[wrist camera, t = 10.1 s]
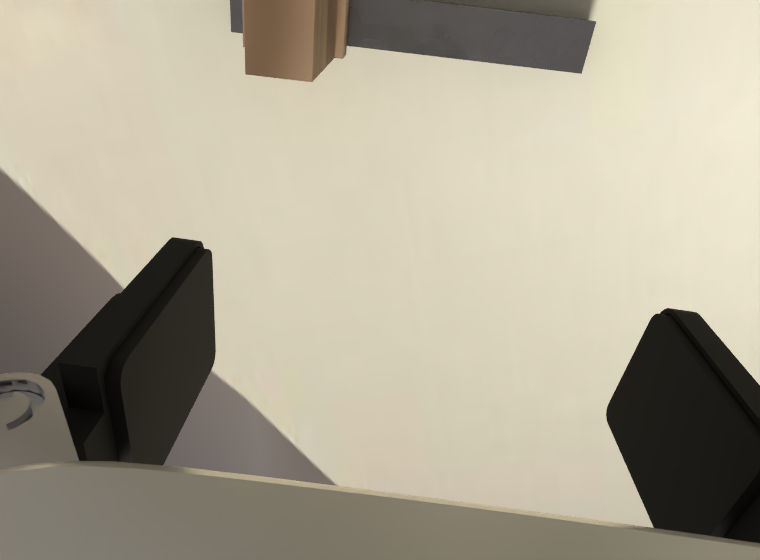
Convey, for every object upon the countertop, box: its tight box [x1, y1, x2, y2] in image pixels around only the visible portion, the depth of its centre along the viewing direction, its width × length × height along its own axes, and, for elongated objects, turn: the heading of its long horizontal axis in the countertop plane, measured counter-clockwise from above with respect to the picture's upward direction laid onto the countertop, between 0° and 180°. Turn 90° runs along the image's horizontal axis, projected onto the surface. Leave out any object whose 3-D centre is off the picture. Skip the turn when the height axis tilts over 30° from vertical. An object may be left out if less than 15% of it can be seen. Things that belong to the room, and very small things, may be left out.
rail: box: [230, 0, 596, 73], centre depth 33 cm, size 22×3×2 cm, turn 84°
